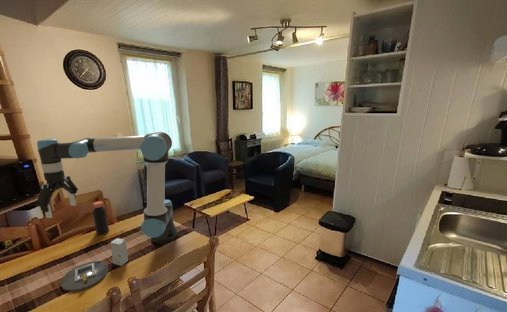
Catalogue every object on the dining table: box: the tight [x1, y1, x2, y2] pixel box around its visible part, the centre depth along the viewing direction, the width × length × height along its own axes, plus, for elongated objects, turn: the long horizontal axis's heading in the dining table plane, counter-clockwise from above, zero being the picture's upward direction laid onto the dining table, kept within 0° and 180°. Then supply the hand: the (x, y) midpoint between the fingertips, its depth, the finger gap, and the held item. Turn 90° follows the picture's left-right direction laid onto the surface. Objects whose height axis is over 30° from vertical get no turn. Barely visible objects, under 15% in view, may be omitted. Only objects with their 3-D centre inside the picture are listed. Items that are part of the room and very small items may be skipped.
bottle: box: [92, 200, 110, 236], centre depth 146 cm, size 7×7×20 cm
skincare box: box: [110, 237, 129, 267], centre depth 119 cm, size 6×4×12 cm
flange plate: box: [60, 260, 109, 293], centre depth 110 cm, size 18×18×6 cm
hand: (62, 211), depth 119 cm, fingers open, 13 cm apart
